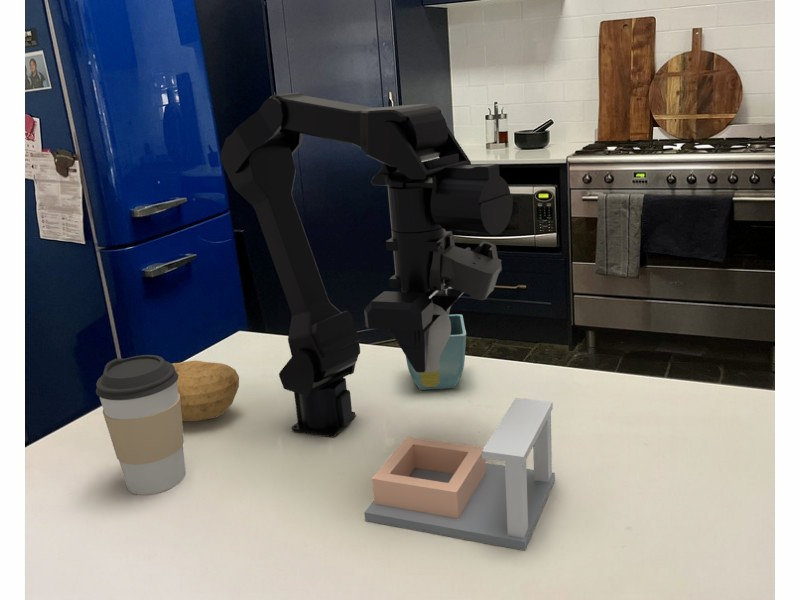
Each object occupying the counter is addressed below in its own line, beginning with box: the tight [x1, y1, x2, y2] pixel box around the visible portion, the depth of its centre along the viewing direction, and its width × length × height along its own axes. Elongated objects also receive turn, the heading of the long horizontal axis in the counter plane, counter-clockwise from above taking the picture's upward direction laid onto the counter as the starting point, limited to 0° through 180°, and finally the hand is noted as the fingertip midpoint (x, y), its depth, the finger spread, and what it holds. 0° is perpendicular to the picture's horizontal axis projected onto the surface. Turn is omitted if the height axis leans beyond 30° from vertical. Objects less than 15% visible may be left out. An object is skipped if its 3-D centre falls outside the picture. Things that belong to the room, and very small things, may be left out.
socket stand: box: [363, 397, 556, 551], centre depth 81 cm, size 17×13×10 cm
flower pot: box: [405, 314, 467, 391], centre depth 111 cm, size 9×9×9 cm
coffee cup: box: [95, 354, 186, 496], centre depth 90 cm, size 9×9×15 cm
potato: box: [170, 360, 240, 422], centre depth 106 cm, size 10×14×8 cm
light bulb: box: [420, 304, 451, 388], centre depth 86 cm, size 6×6×10 cm
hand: (428, 362), depth 87 cm, fingers closed on light bulb, 5 cm apart
